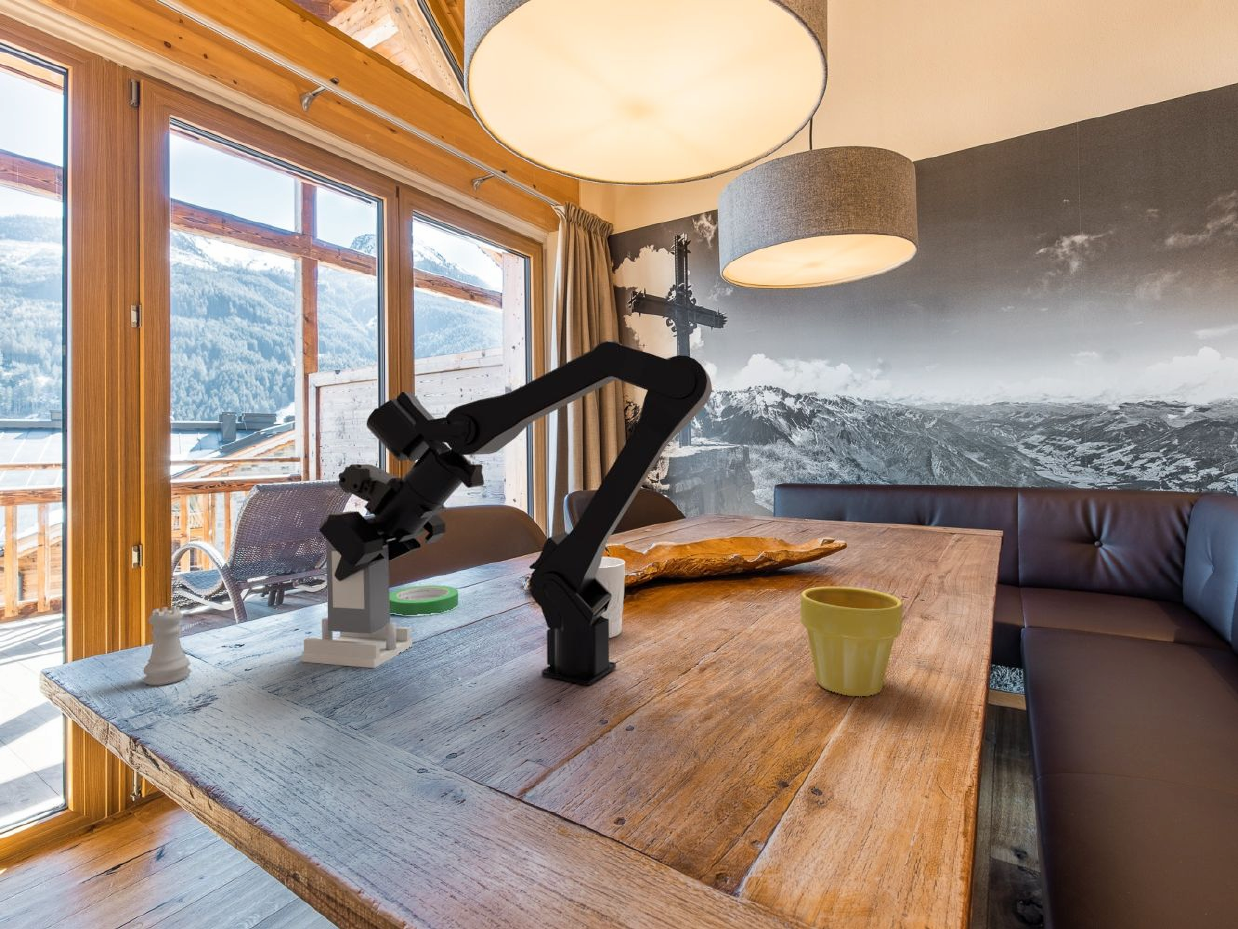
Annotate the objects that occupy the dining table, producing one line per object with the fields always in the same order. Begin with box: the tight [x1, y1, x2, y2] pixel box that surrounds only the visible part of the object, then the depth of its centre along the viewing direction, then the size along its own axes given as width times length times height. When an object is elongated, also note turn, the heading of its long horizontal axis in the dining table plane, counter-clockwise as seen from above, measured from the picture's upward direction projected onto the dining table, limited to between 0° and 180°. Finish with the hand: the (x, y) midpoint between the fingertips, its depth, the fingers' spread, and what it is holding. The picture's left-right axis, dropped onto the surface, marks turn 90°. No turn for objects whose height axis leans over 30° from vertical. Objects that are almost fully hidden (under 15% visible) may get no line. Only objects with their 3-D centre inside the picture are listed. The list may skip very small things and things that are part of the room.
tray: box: [301, 616, 413, 669], centre depth 77 cm, size 10×8×4 cm
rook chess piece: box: [142, 605, 192, 687], centre depth 69 cm, size 4×4×8 cm
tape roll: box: [389, 584, 459, 615], centre depth 100 cm, size 11×11×3 cm
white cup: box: [595, 556, 626, 639], centre depth 86 cm, size 8×8×10 cm
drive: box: [325, 538, 391, 634], centre depth 77 cm, size 6×4×12 cm, turn 77°
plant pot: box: [800, 586, 904, 698], centre depth 67 cm, size 10×10×10 cm
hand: (349, 574), depth 77 cm, fingers closed on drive, 4 cm apart
